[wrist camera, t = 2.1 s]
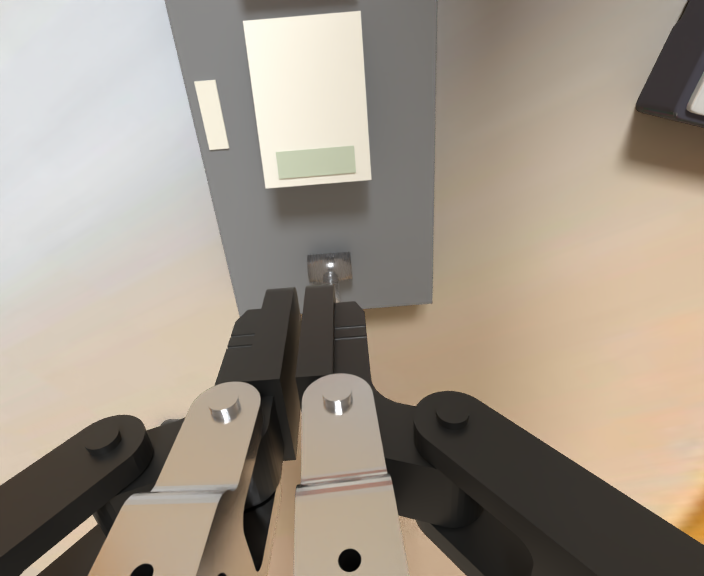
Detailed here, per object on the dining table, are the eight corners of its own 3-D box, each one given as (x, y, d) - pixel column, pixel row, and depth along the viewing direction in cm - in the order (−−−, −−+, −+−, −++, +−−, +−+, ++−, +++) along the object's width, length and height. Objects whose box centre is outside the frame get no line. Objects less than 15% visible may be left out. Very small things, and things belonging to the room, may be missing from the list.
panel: (132, -231, 19) (92, -280, 16) (427, -258, 19) (445, -313, 16) (248, 293, 31) (238, 324, 28) (424, 279, 31) (434, 308, 28)
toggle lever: (307, 249, 26) (306, 330, 22) (349, 245, 26) (355, 326, 22) (310, 268, 27) (310, 348, 24) (351, 264, 27) (357, 344, 24)
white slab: (248, 27, 21) (242, 20, 19) (359, 17, 21) (360, 10, 19) (269, 185, 23) (265, 188, 22) (370, 177, 23) (371, 180, 22)
